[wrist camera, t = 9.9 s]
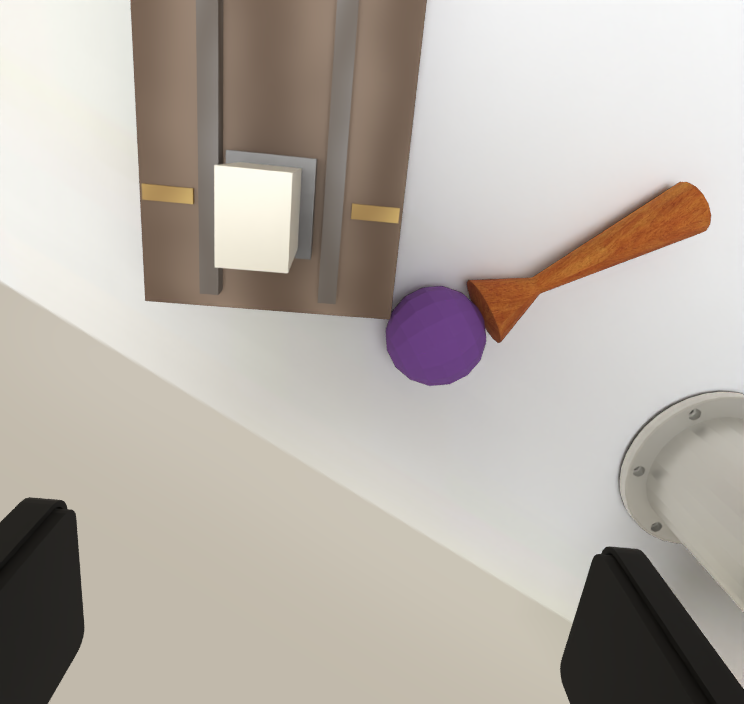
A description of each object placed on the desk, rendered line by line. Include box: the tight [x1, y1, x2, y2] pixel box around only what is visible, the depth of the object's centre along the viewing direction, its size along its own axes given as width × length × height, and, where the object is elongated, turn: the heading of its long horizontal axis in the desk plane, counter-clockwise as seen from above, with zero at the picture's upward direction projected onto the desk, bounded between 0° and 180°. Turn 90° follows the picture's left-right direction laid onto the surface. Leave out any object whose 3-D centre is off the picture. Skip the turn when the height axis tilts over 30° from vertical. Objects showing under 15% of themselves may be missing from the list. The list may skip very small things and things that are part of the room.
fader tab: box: [214, 150, 317, 273], centre depth 25 cm, size 4×5×8 cm
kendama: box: [386, 182, 711, 386], centre depth 32 cm, size 6×6×20 cm
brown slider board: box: [131, 0, 427, 319], centre depth 28 cm, size 14×22×4 cm, turn 174°
